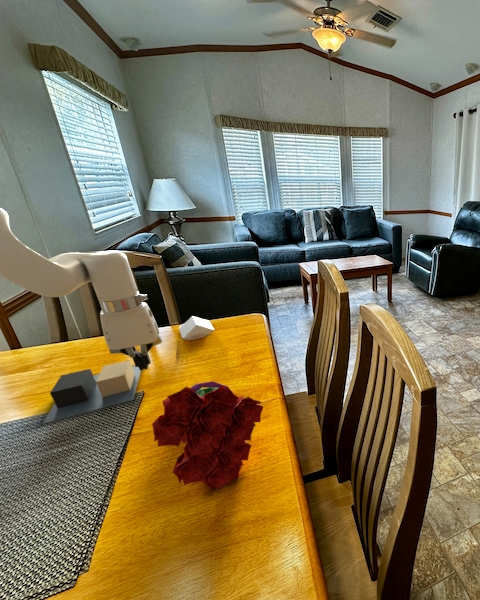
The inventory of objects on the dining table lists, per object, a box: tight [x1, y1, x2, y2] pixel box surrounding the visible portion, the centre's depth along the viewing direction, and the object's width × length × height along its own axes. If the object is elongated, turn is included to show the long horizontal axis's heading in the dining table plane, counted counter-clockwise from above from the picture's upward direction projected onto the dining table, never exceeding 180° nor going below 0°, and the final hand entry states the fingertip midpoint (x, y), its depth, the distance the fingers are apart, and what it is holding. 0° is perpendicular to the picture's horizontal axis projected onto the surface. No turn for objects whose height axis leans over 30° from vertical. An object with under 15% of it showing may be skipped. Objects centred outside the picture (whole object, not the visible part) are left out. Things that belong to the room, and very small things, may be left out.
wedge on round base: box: [178, 315, 215, 341], centre depth 110 cm, size 9×7×13 cm
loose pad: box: [96, 360, 135, 397], centre depth 83 cm, size 6×8×4 cm
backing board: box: [41, 365, 142, 425], centre depth 82 cm, size 16×18×1 cm
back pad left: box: [49, 368, 96, 408], centre depth 80 cm, size 6×8×4 cm
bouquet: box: [151, 380, 264, 491], centre depth 67 cm, size 20×16×30 cm
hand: (144, 367), depth 86 cm, fingers closed
